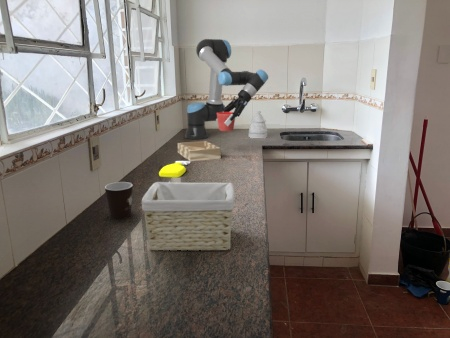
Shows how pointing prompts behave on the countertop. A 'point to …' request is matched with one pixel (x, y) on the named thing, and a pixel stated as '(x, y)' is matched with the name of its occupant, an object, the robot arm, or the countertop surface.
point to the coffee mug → (119, 199)
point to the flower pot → (222, 118)
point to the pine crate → (199, 151)
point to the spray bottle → (174, 169)
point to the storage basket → (189, 215)
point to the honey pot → (258, 127)
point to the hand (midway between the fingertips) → (221, 123)
